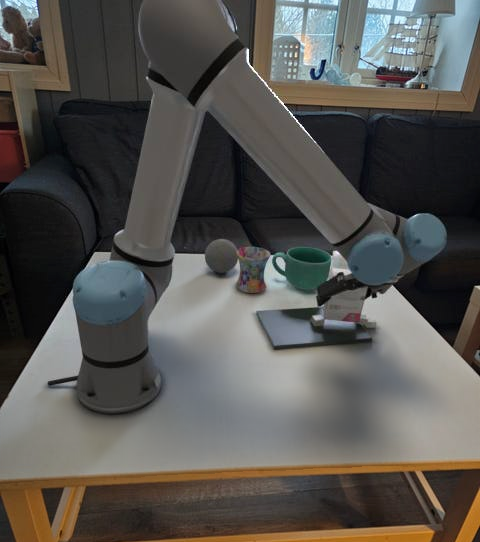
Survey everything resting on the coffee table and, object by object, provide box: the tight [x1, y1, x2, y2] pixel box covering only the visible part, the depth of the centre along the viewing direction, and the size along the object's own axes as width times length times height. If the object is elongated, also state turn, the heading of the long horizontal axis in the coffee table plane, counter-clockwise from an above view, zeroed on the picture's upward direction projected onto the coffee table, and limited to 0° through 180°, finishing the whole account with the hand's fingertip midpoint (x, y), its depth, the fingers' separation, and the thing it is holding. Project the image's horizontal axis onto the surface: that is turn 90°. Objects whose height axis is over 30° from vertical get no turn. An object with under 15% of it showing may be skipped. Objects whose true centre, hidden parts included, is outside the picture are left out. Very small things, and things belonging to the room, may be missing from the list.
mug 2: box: [271, 246, 332, 291], centre depth 124 cm, size 17×13×10 cm
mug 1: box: [235, 246, 271, 294], centre depth 121 cm, size 12×9×11 cm
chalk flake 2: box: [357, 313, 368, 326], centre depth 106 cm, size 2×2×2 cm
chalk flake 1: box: [311, 315, 325, 326], centre depth 105 cm, size 2×2×2 cm
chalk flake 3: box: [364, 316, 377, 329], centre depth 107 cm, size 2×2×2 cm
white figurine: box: [328, 250, 349, 277], centre depth 132 cm, size 9×8×15 cm
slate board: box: [255, 306, 374, 350], centre depth 105 cm, size 24×16×1 cm, turn 103°
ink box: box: [322, 267, 368, 323], centre depth 102 cm, size 9×5×12 cm, turn 85°
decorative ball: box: [204, 238, 239, 274], centre depth 128 cm, size 10×10×10 cm
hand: (337, 300), depth 106 cm, fingers closed on ink box, 9 cm apart
